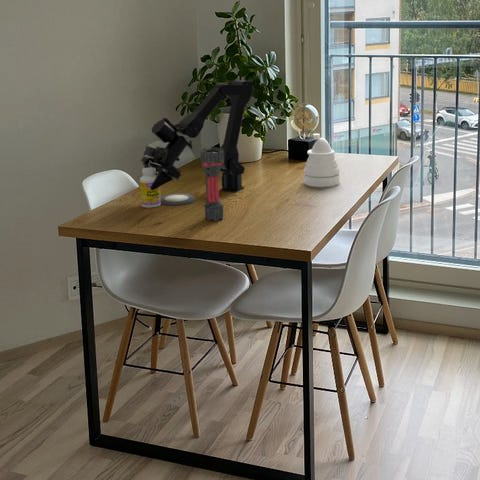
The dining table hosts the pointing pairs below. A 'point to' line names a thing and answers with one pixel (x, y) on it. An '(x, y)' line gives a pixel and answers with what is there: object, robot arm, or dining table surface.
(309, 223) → the dining table surface
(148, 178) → the supplement bottle
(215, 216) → the flashlight
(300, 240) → the dining table surface
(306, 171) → the honey pot
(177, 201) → the dock pad
